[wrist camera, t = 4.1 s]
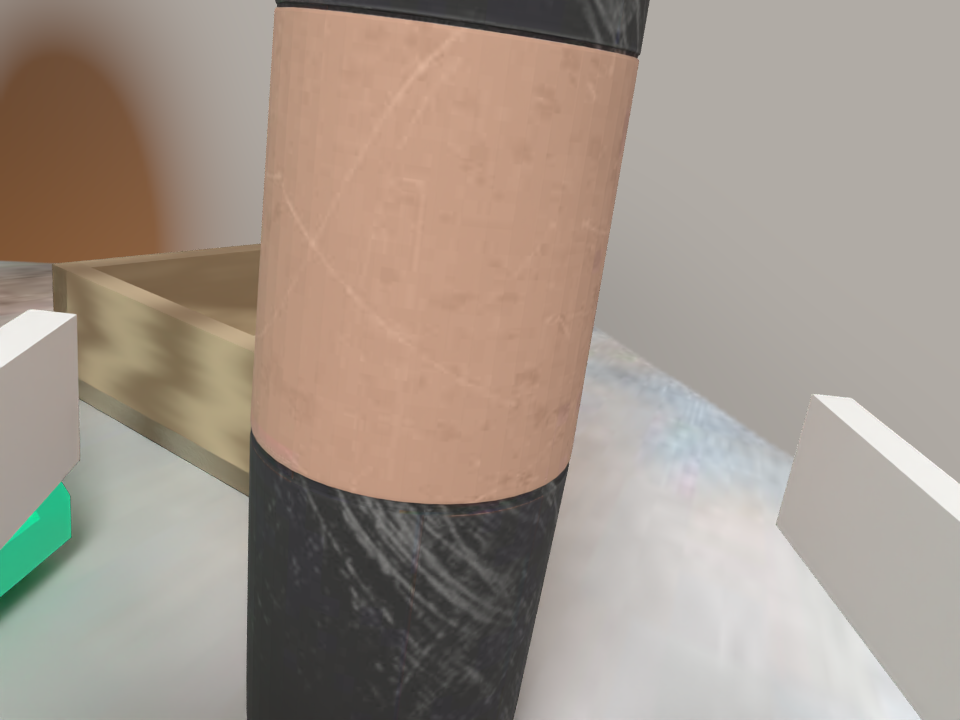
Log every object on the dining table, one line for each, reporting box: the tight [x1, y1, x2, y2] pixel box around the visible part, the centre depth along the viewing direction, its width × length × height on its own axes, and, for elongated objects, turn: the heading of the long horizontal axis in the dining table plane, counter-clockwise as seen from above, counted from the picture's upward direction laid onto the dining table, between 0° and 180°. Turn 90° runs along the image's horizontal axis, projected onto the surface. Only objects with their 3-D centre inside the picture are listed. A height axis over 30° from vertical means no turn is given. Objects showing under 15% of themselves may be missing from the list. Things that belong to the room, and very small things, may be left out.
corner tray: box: [52, 244, 261, 496], centre depth 42 cm, size 18×18×6 cm
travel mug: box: [247, 0, 650, 720], centre depth 20 cm, size 8×8×20 cm
